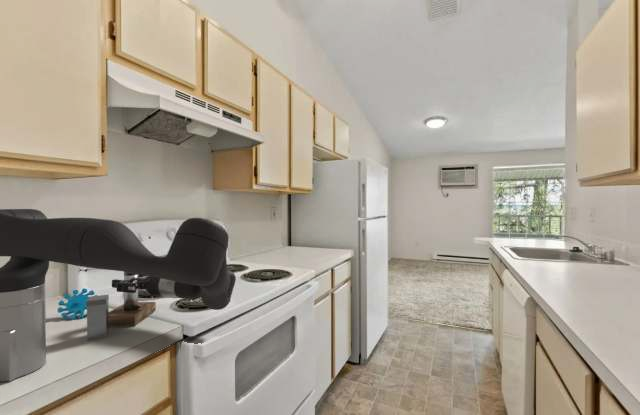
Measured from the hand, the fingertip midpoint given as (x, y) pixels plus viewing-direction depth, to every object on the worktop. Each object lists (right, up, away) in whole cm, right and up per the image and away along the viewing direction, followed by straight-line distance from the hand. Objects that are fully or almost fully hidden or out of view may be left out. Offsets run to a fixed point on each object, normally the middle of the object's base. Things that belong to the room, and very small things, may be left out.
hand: (126, 279), depth 92 cm
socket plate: (+2, -12, 0) cm, 12 cm away
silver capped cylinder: (+2, -10, 0) cm, 11 cm away
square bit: (+1, -12, -12) cm, 17 cm away
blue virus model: (-15, -12, +2) cm, 20 cm away
